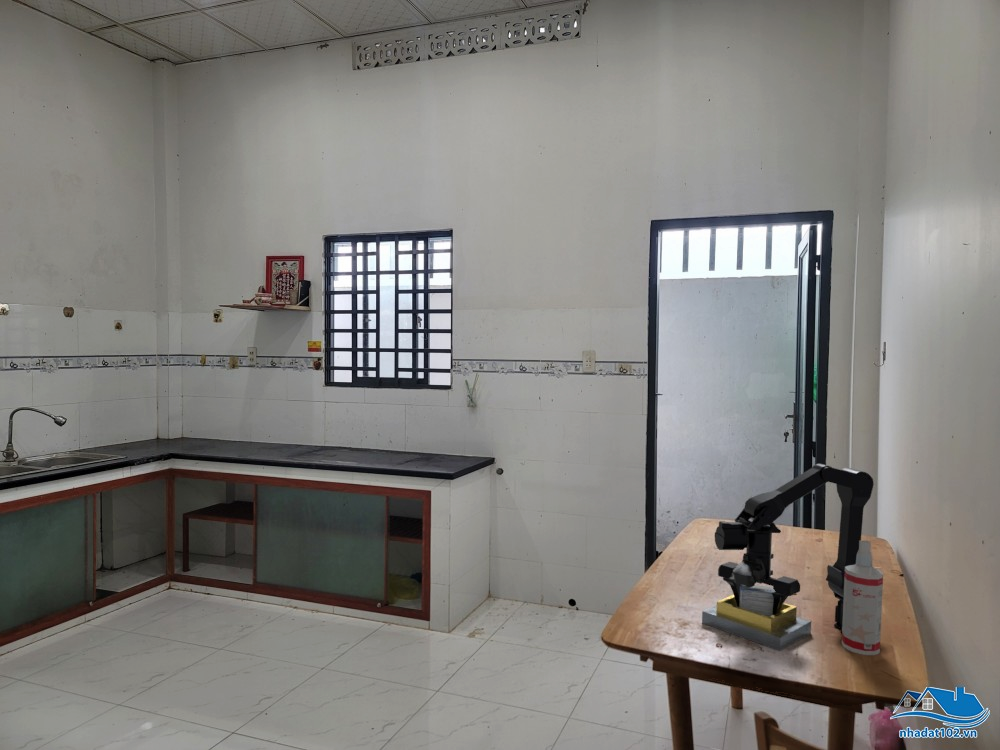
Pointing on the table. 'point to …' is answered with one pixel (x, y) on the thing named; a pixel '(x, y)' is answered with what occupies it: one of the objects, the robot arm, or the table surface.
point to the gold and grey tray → (758, 623)
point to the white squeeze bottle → (862, 604)
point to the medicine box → (757, 599)
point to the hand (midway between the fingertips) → (756, 612)
